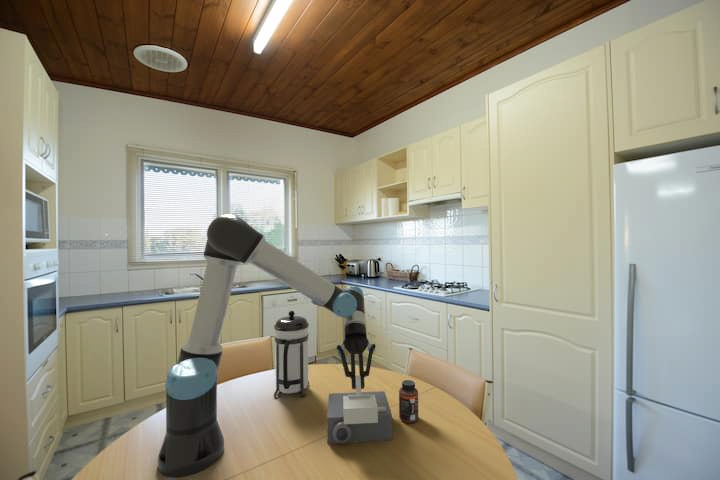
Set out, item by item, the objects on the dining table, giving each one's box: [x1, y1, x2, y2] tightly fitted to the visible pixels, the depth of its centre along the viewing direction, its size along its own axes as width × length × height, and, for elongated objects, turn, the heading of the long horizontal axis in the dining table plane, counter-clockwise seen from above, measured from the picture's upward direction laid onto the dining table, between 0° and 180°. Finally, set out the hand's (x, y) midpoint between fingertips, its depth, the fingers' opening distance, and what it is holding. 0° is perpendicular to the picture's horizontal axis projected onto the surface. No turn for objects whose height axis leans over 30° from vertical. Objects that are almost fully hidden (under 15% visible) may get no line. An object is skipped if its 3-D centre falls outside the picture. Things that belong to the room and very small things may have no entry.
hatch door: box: [343, 394, 378, 424], centre depth 86 cm, size 9×7×5 cm
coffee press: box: [273, 310, 310, 399], centre depth 116 cm, size 17×16×30 cm
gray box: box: [326, 390, 393, 444], centre depth 92 cm, size 18×16×8 cm
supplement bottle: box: [398, 379, 419, 424], centre depth 97 cm, size 6×6×11 cm
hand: (358, 400), depth 90 cm, fingers closed
